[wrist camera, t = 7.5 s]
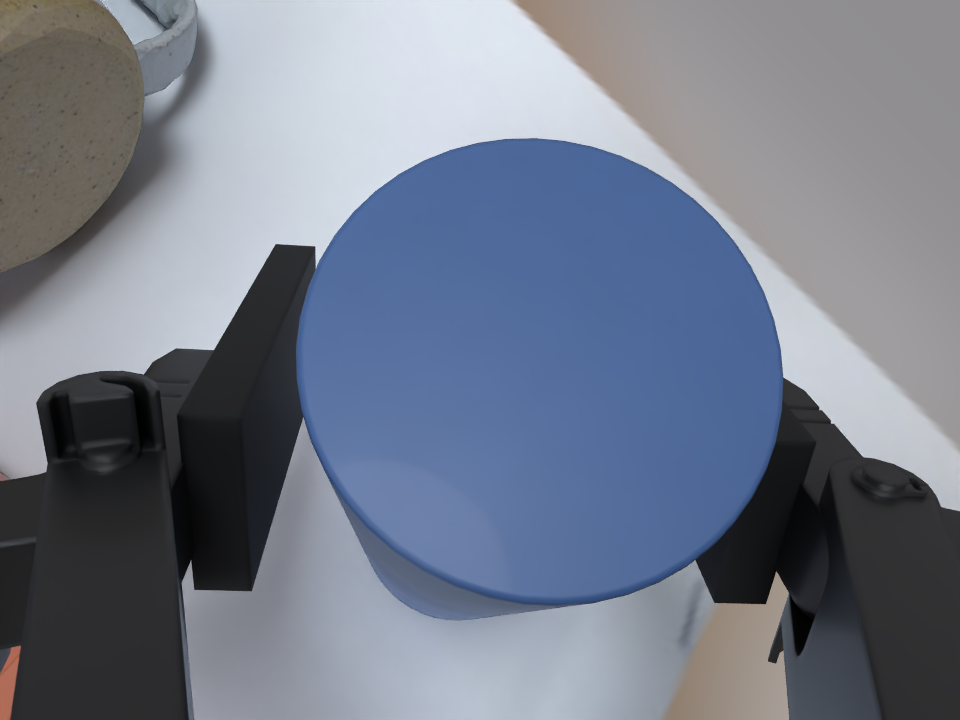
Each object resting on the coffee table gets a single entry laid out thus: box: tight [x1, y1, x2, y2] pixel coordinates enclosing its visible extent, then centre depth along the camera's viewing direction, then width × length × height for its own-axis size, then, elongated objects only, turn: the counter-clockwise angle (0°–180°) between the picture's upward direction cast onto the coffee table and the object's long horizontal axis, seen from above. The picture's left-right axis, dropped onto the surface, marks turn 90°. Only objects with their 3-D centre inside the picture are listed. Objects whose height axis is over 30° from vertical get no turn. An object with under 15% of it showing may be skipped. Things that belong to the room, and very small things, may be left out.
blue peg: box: [296, 138, 783, 620], centre depth 13 cm, size 4×4×12 cm
